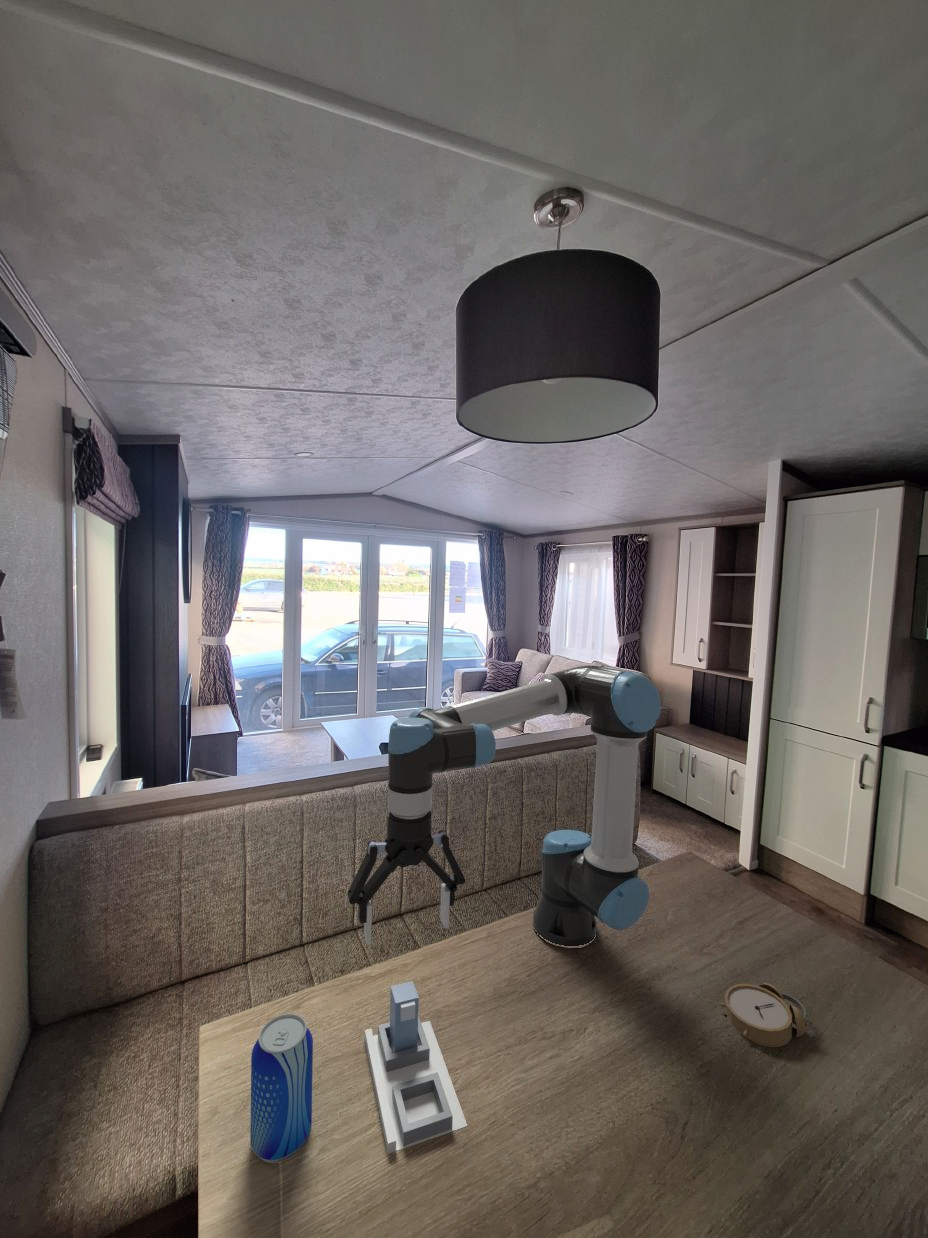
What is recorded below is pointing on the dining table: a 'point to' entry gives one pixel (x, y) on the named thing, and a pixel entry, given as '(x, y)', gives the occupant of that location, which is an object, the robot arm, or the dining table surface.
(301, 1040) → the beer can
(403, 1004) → the plug
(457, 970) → the dining table surface
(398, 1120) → the panel
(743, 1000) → the alarm clock
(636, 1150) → the dining table surface
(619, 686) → the robot arm
